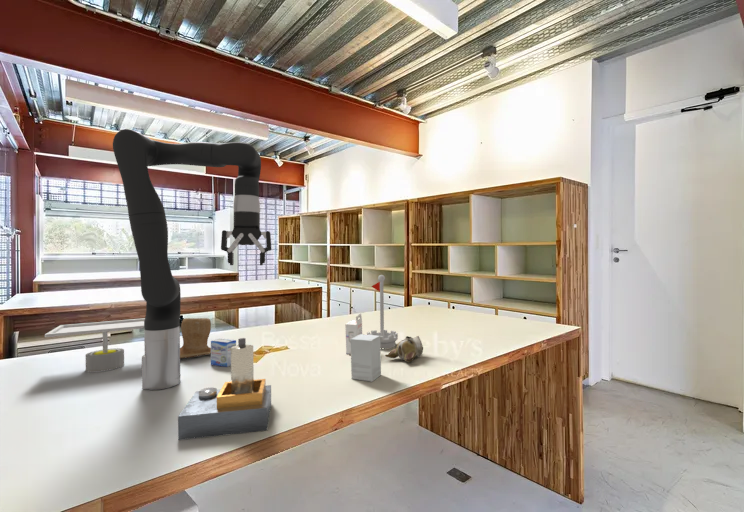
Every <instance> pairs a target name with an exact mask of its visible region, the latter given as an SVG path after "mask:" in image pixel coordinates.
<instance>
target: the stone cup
mask: <svg viewBox="0 0 744 512" xmlns="http://www.w3.org/2000/svg"><path fill="white" fill-rule="evenodd" d="M211 330H212V321H211V319H210V318H208V317H200V318H199V317H198V318H195V317H194V318H193V317H191V318H190V317H185V318H183V319H182V321H181V323H180V332H181V337H182V341H183V343H182V346H180V360H184V359H190V358H197V357H203V356H208V355H211V346H208V339H209V337H210V334H211Z"/></svg>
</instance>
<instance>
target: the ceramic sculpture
mask: <svg viewBox="0 0 744 512" xmlns="http://www.w3.org/2000/svg"><path fill="white" fill-rule="evenodd" d="M423 352H424V345H423V343H422V340H421V338H420V335H418V336H416V337H412V336H405V338H404V339H401V340H400V341H398V343H397V345H396V348H392V349H391V350H390V351H389V352H388V354H385V355H384V356H385V357H386V358H390V359H396V358H399V359H401V360H403V361H405V362H408V363H411V362H413V361H414V359H415V357H421V356H422V355H423Z"/></svg>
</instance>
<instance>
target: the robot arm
mask: <svg viewBox="0 0 744 512" xmlns="http://www.w3.org/2000/svg"><path fill="white" fill-rule="evenodd" d="M112 150H113V154H114V157H115V161H116V164H117V167H118V171H119V173H120V177H121V181H122V185H123V192H124V196H125V201H126V202H125V203H126V206H127V215H128V219H129V225H130V229H131V234H132V238H133V243H134V247H135V250H136V255H137V258H138V263H139V272H140V273H139V275H140V292H141V297H142V298H143V300H144V301H145V302H146V304H145V306H146V307H145V309H146V311H145V316H144V317H145V320H144V328H143V329H144V330H143V333H144V334H143V337H144V345H143V346H144V355H142V356H141V387H142V388H141V389H142V390H151V391H155V390H164V389H169V388H172V387H175V386H177V385H179V384H180V383H181V359H180V348H181V345H180V344H181V336H180V335H181V333H180V332H181V323H180V320H181V319H180V318H181V301H182V300H181V284H180V282H179V281H178V279H176V277H174V276H173V274H172V271H171V267H170V263H169V256H168V255H169V254H168V249H169V229H168V223H167V222H168V221H167V217H166V212H165V211H166V210H165V208H164V205H163V202H162V200H161V198H160V196H159V194H158V193H157V190H156V189H155V187H154V185H153V183H152V180H151V178H150V174H149V168H148V167H155V166H168V165H183V166H184V165H185V166H196V167H197V166H198V167H210V168H225V167H226V166H235V167H236V166H238V167H237V169H238V171H237V177H236V178H235V180H234V199H233V228H232V229H233V230H232V231H230V230H222V232H221V241H220V242H221V243H220V249H221V251H224V252H226V253H227V263H228V264H229V266H234V262H235V261H234V258H235V257H234V251H235V249H236V248H237V247H238V246H240V245H241V246H247V245H248V246H253V245H255V246H256V248H258V250H259V252H260V253H259V266H264V265H263V264H265V263H266V253H268V252H269V251H272V236H271V231H269V230H268V231H267V230H266V231H261V204H260V184H259V183H260V177H261V170H262V159H261V155H260V153H259V152H258V151H257V149H256V148H255V147H254V146H253V145H251V144H250V143H247V142H242V141H234V142H233V141H232V142H224V143H218V142H217V143H216V142H205V141H191V142H185V143H183V142H182V143H169V142H164V141H159V140H154V139H151V138H150V137H149V136H146V135H144V134H142V132H139V131H137V130H133V129H130V128H124V129H121V130H119V131H118V132H116V134H115V135H114V137H113V140H112ZM231 236H232V237H233V238H234V241H233V242H231V244H230V246H229V247H228V239H229V238H230V237H231ZM261 237H263V238H264V239H265V240H266V243H265V244H266V247H263V245H262V244H261V242H260V241H259V239H260V238H261Z"/></svg>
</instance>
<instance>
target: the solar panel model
mask: <svg viewBox="0 0 744 512" xmlns="http://www.w3.org/2000/svg"><path fill="white" fill-rule="evenodd" d="M144 320H145V318H144V317H143V318H133V319H122V320H121V319H120V320H119V319H118V320H109V321H98V322H97V321H96V322H84V323H71V324H60V325H58V326H57V327H55V328H53V329H51V330H50V331H48V332H47V333H45V334H44V338H52V337H63V336H65V337H66V336H76V335H85V334H97V333H98V334H99V333H102V349H100V350H99V349H98V350H94V351H90V352H87V353H86V354H85V372H87V373H99V372H106V371H107V372H108V371H112V370H116V369H119V368H122V367H124V366H125V349H124V348H118V347H117V348H108V347H109V346H108V341H109V340H108V337H109V336H108V332H119V331H129V330H139V329H140V330H141V329H144Z"/></svg>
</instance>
